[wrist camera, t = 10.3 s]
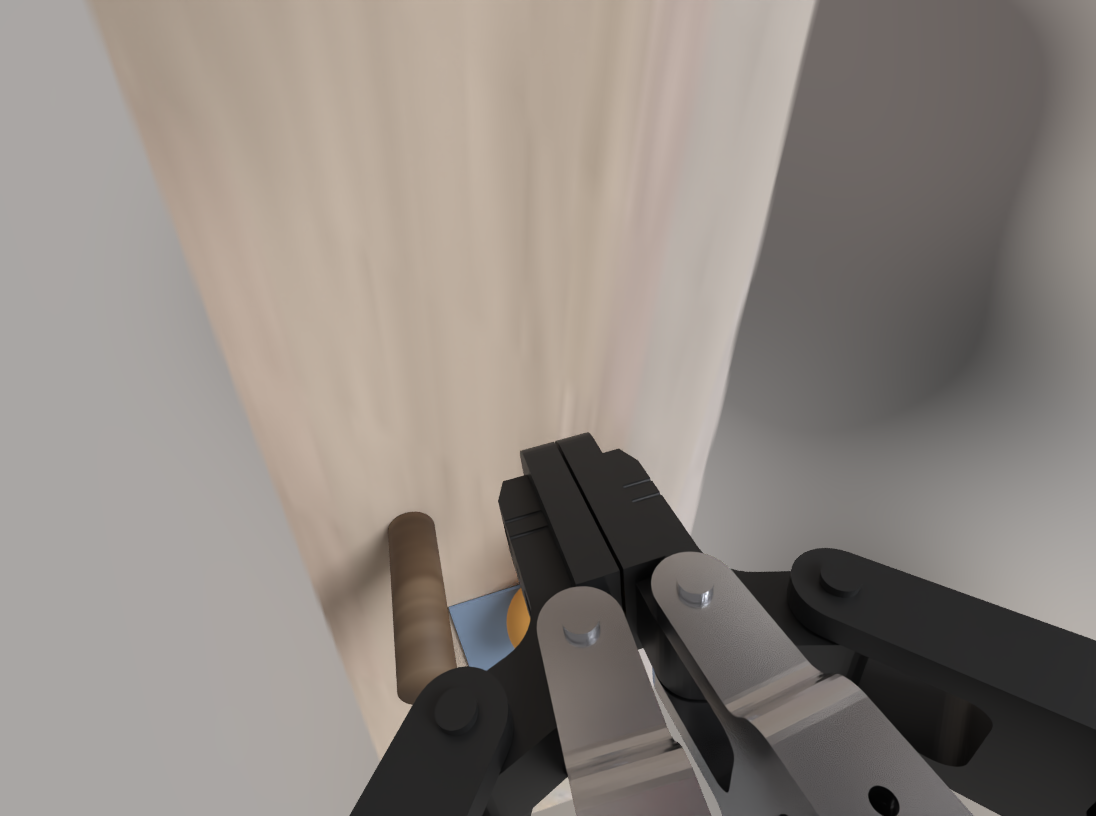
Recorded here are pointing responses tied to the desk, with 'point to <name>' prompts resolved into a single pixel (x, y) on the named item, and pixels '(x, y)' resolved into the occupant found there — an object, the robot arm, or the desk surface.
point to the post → (418, 605)
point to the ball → (517, 619)
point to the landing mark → (484, 627)
